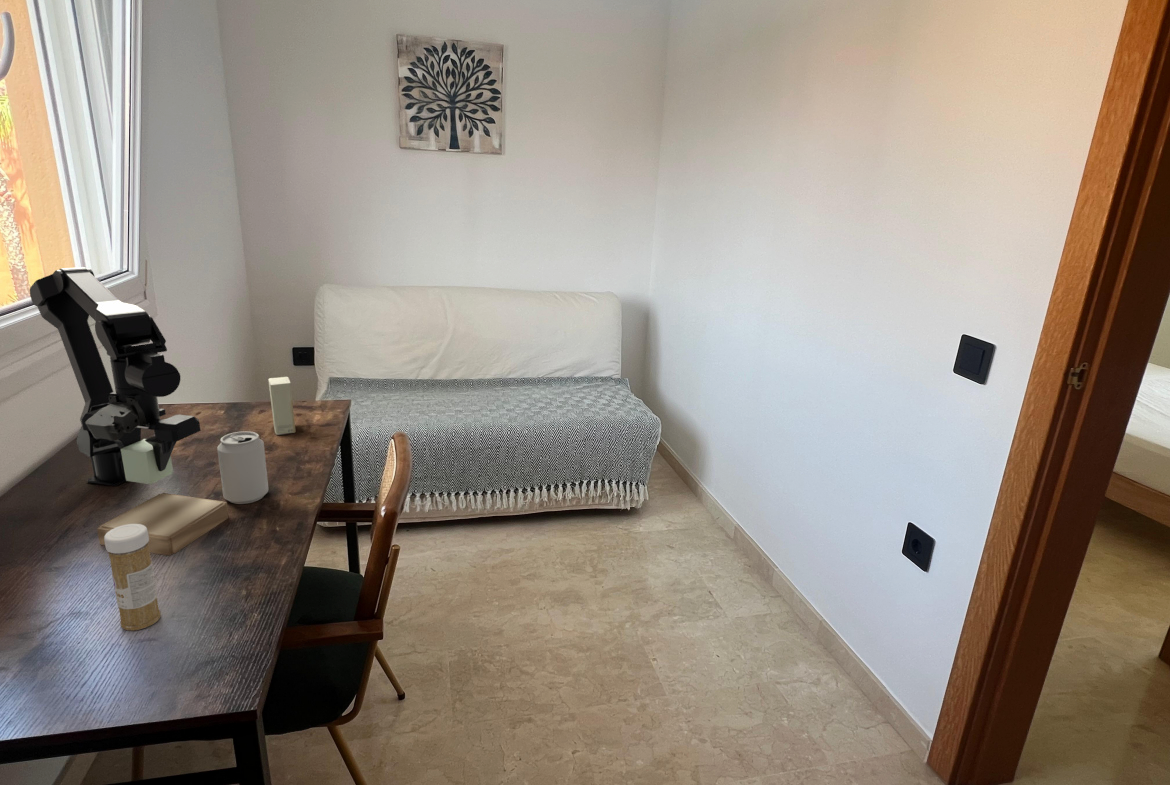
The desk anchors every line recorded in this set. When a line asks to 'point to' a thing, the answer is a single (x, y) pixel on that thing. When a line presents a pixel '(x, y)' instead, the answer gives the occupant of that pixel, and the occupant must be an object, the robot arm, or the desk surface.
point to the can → (242, 467)
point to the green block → (142, 463)
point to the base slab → (171, 520)
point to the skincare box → (282, 405)
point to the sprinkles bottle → (133, 576)
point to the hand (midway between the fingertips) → (148, 468)
